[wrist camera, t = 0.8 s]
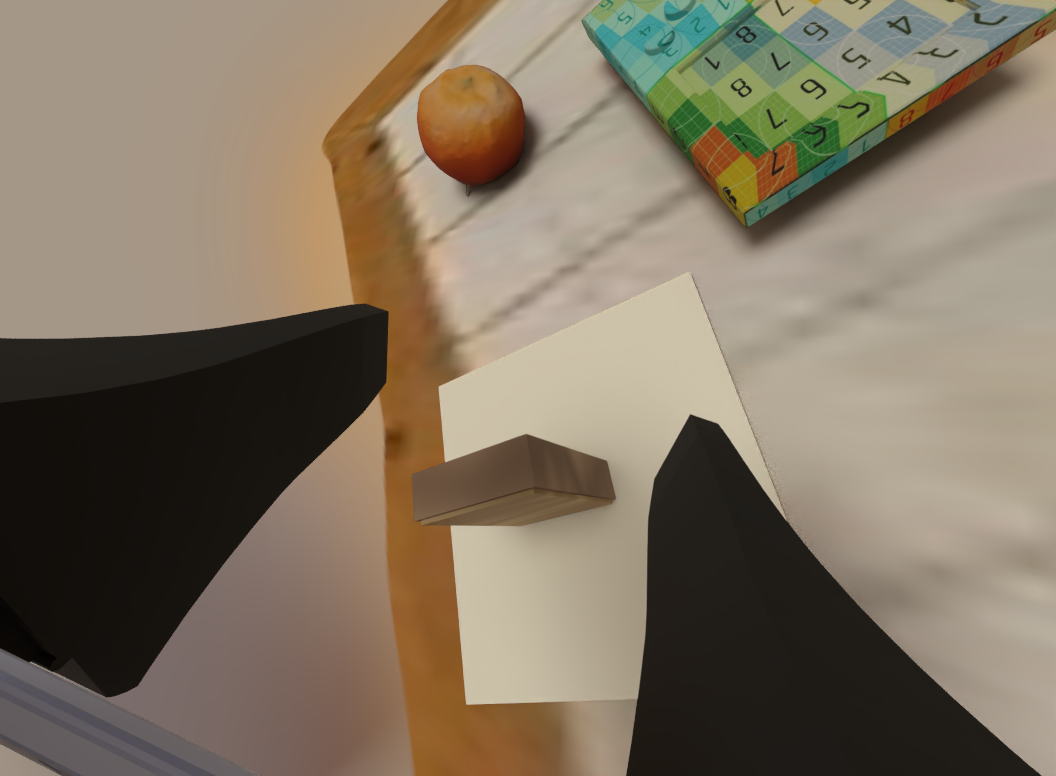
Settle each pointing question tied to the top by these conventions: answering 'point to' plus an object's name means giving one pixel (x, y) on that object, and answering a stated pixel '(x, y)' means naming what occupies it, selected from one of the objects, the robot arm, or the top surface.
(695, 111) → the puzzle game
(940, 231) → the top surface
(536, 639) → the mat
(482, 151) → the fruit
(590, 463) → the walnut tile
